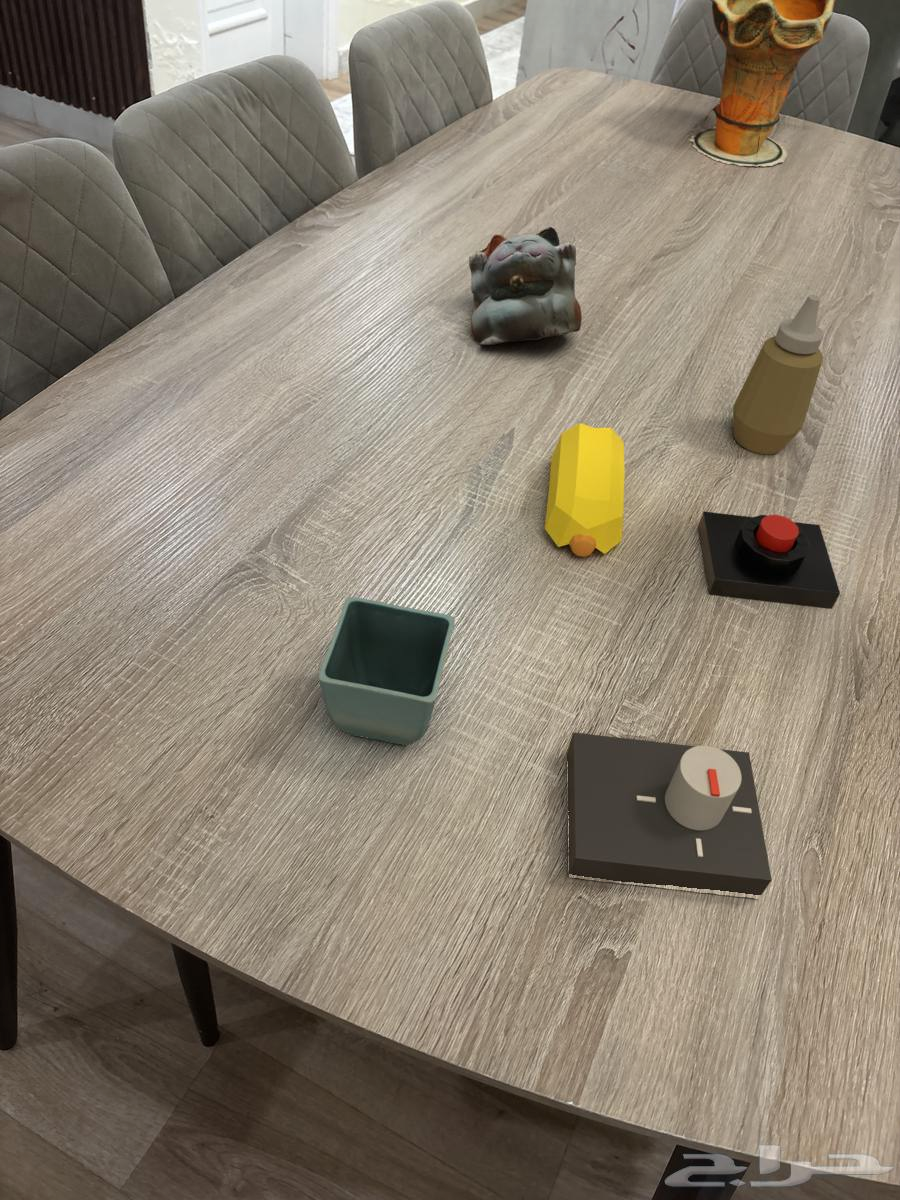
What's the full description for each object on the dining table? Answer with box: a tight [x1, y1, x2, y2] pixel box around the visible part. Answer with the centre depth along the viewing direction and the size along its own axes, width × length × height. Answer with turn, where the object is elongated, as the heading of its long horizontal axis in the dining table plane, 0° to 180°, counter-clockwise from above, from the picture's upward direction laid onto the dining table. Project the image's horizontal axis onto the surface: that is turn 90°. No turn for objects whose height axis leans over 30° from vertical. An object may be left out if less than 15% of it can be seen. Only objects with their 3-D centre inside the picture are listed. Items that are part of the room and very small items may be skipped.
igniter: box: [697, 511, 841, 610], centre depth 93 cm, size 12×10×4 cm
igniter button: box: [756, 514, 799, 552], centre depth 91 cm, size 4×4×2 cm
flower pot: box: [317, 596, 456, 746], centre depth 74 cm, size 9×9×9 cm
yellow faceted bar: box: [544, 422, 626, 558], centre depth 96 cm, size 18×7×8 cm
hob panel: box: [566, 731, 773, 896], centre depth 71 cm, size 14×11×3 cm
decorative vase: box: [688, 0, 836, 168], centre depth 165 cm, size 21×23×28 cm
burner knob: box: [665, 745, 742, 831], centre depth 68 cm, size 4×4×5 cm
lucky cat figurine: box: [468, 226, 583, 347], centre depth 118 cm, size 15×12×14 cm
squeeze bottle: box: [732, 294, 824, 455], centre depth 103 cm, size 8×8×18 cm
